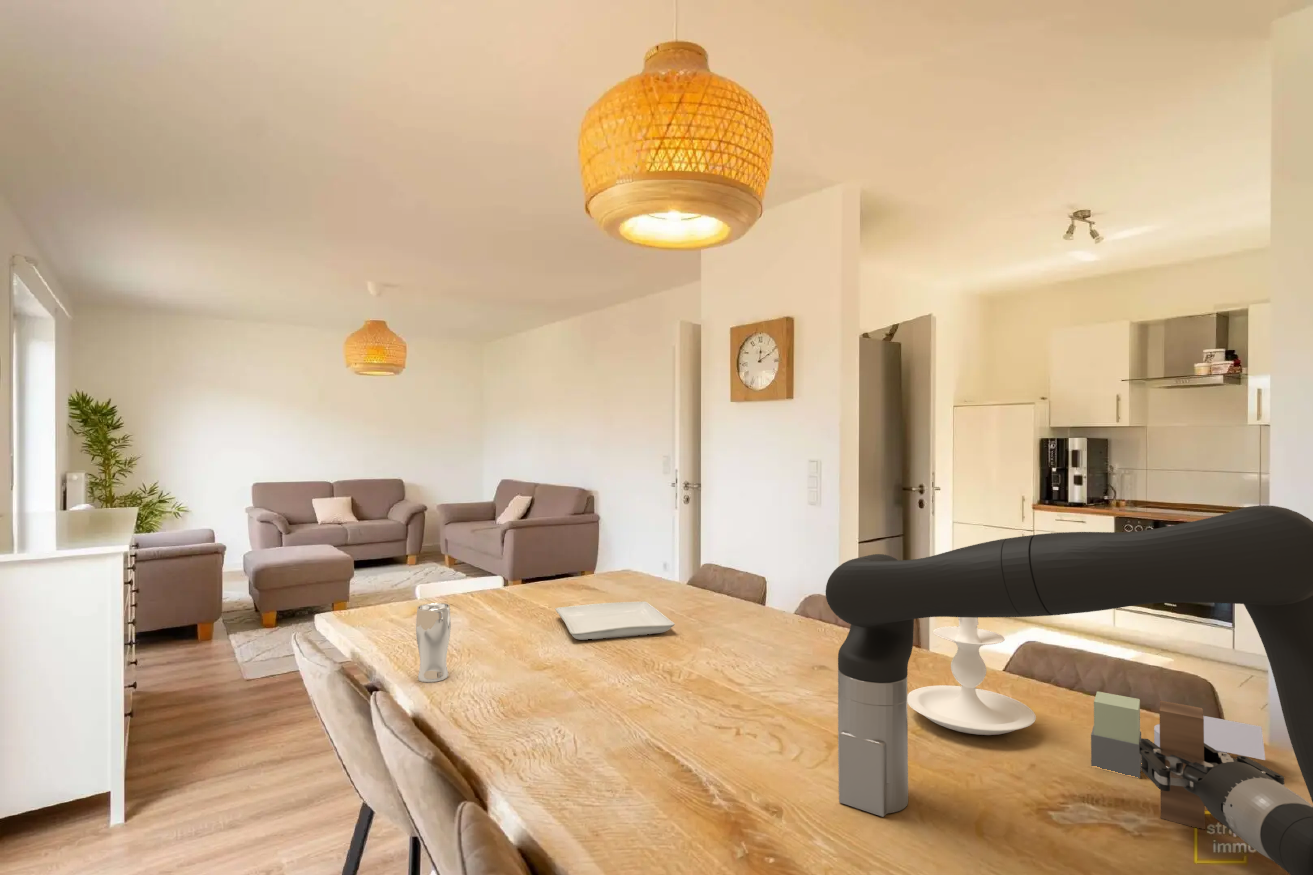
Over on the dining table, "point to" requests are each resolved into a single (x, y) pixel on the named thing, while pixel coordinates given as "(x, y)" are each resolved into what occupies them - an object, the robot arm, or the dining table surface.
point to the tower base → (1116, 755)
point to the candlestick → (970, 689)
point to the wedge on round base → (1229, 737)
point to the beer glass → (433, 640)
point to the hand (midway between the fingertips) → (1170, 747)
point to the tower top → (1117, 717)
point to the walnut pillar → (1186, 738)
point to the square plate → (613, 620)
